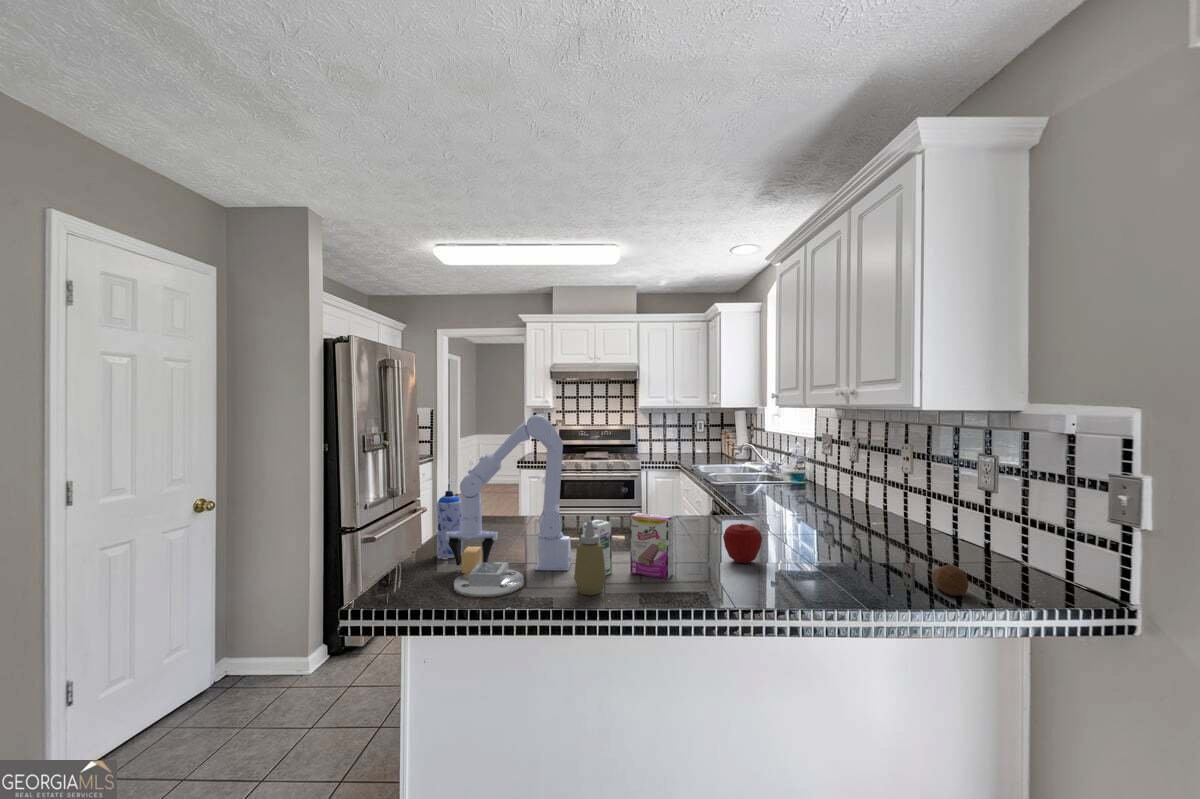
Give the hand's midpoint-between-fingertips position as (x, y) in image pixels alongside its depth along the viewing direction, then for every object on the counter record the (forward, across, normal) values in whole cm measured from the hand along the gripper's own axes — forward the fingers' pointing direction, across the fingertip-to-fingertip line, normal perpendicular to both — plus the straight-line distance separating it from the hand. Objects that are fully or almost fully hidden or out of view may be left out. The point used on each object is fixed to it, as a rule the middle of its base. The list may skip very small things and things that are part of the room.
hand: (472, 564), depth 163 cm
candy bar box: (+2, +51, -2) cm, 51 cm away
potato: (+2, +125, -13) cm, 126 cm away
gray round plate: (+2, +8, -12) cm, 15 cm away
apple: (+2, +78, +10) cm, 79 cm away
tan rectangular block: (+2, 0, 0) cm, 2 cm away
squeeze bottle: (+2, +35, -16) cm, 39 cm away
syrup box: (+2, +36, -2) cm, 36 cm away
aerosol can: (+2, -11, +14) cm, 18 cm away
